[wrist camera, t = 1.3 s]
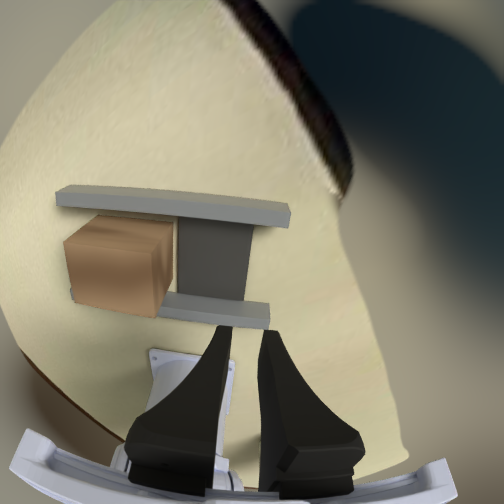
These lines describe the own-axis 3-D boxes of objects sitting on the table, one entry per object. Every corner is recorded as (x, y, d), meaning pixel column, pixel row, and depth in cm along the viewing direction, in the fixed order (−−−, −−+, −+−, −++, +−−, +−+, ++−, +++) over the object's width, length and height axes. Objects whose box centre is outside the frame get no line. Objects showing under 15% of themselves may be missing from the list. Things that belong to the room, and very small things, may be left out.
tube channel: (267, 313, 23) (268, 329, 21) (82, 286, 22) (72, 299, 20) (287, 203, 19) (291, 212, 17) (70, 184, 18) (55, 192, 16)
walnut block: (173, 277, 22) (155, 318, 17) (104, 267, 21) (75, 302, 17) (173, 221, 20) (151, 253, 15) (98, 214, 19) (63, 242, 15)
